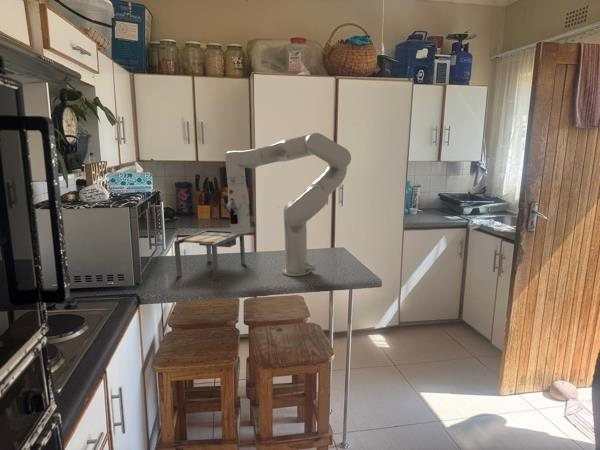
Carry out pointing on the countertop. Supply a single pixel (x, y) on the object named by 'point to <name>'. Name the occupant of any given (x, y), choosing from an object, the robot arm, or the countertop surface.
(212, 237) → the trapdoor
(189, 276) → the countertop surface
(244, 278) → the countertop surface
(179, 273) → the frame
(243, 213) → the supplement box
